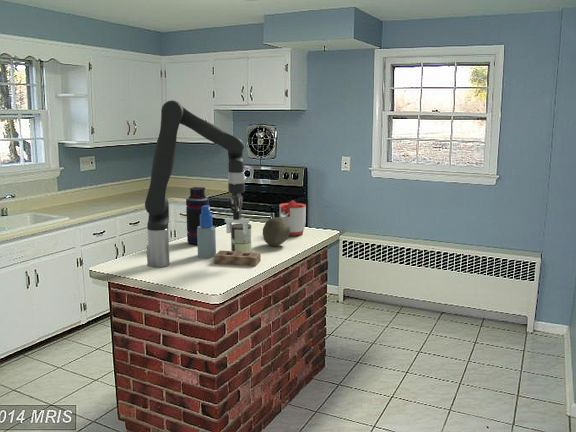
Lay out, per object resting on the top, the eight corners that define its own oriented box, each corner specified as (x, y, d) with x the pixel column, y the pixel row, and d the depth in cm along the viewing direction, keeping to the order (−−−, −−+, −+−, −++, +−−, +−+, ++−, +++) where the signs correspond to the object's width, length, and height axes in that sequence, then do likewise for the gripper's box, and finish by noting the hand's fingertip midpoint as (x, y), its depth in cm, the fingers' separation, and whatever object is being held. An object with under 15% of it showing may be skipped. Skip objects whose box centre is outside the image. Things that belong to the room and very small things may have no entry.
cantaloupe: (268, 250, 281) (268, 221, 278) (259, 243, 294) (258, 216, 291) (293, 247, 287) (294, 219, 284) (283, 241, 299) (283, 214, 296)
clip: (225, 232, 255) (224, 208, 253) (227, 231, 258) (226, 207, 256) (247, 234, 253) (247, 209, 251) (249, 232, 256) (249, 208, 254)
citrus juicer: (271, 235, 314) (271, 200, 310) (289, 229, 328) (289, 196, 324) (294, 238, 305) (294, 203, 301) (311, 233, 319) (311, 199, 315)
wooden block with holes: (214, 263, 256) (214, 255, 255) (220, 258, 265) (220, 250, 264) (255, 266, 252) (255, 257, 251) (260, 260, 261) (260, 252, 260)
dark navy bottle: (203, 246, 288) (201, 189, 282) (183, 244, 292) (181, 188, 286) (215, 240, 301) (213, 186, 295) (195, 238, 304) (194, 185, 299)
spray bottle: (219, 254, 272) (218, 204, 267) (210, 259, 264) (209, 207, 259) (203, 252, 275) (202, 203, 270) (194, 257, 267) (192, 206, 262)
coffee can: (226, 253, 274) (226, 225, 272) (240, 249, 282) (239, 222, 280) (242, 256, 268) (242, 228, 266) (255, 252, 277) (255, 225, 274)
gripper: (233, 179, 259) (233, 215, 262) (223, 183, 245) (224, 221, 248) (248, 180, 257) (248, 216, 260) (240, 184, 244) (240, 222, 247)
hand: (237, 218), depth 254 cm, fingers closed on clip, 3 cm apart
